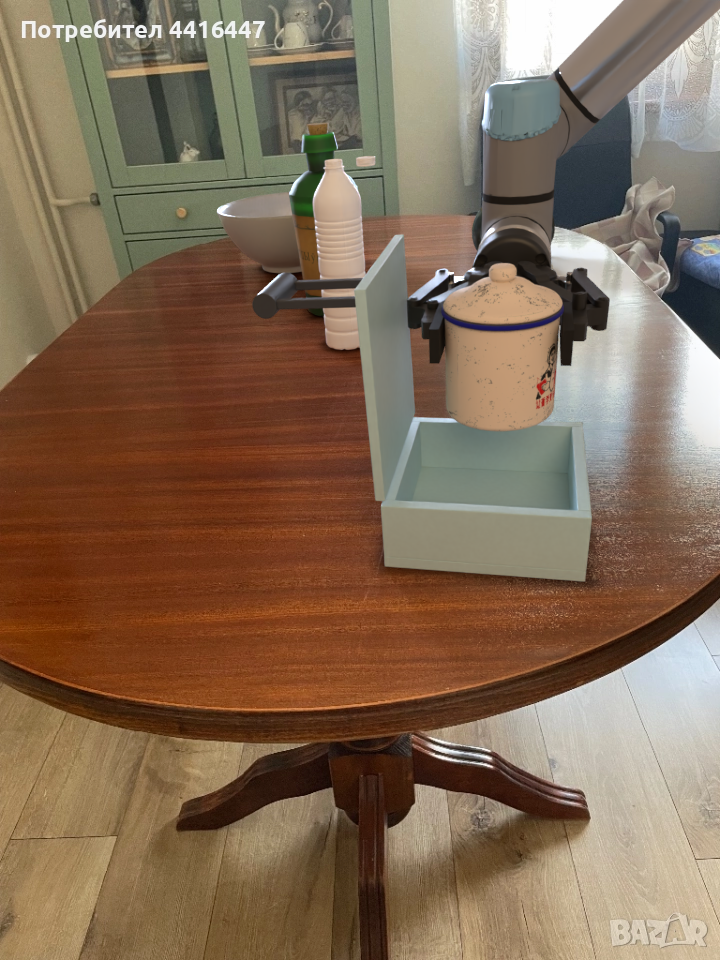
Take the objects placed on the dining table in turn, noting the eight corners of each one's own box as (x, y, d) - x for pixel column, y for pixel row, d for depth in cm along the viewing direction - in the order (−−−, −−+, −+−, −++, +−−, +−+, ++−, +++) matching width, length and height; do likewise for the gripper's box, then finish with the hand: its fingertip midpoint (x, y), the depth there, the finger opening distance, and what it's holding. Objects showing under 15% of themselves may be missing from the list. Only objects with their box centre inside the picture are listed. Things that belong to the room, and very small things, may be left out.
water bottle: (322, 350, 105) (303, 163, 92) (331, 335, 110) (314, 156, 97) (381, 350, 103) (371, 160, 90) (388, 334, 109) (378, 153, 96)
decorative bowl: (201, 270, 150) (190, 209, 144) (303, 243, 164) (297, 186, 158) (279, 292, 132) (270, 223, 126) (385, 259, 147) (382, 196, 141)
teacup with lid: (563, 434, 55) (575, 280, 49) (442, 435, 56) (439, 286, 50) (546, 372, 65) (554, 238, 59) (444, 374, 66) (442, 244, 60)
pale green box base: (577, 477, 70) (582, 421, 67) (585, 581, 57) (592, 518, 54) (413, 470, 74) (411, 416, 71) (384, 566, 60) (380, 506, 57)
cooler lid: (404, 234, 62) (289, 240, 64) (365, 289, 48) (222, 294, 51) (415, 412, 70) (313, 412, 73) (385, 501, 57) (261, 497, 59)
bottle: (299, 305, 125) (278, 124, 110) (360, 297, 126) (347, 118, 112) (306, 324, 115) (284, 130, 101) (371, 315, 117) (359, 123, 102)
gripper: (622, 302, 72) (648, 398, 53) (405, 302, 76) (359, 390, 58) (632, 223, 68) (663, 296, 49) (403, 229, 73) (352, 297, 54)
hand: (499, 347), depth 53 cm, fingers closed on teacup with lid, 9 cm apart
